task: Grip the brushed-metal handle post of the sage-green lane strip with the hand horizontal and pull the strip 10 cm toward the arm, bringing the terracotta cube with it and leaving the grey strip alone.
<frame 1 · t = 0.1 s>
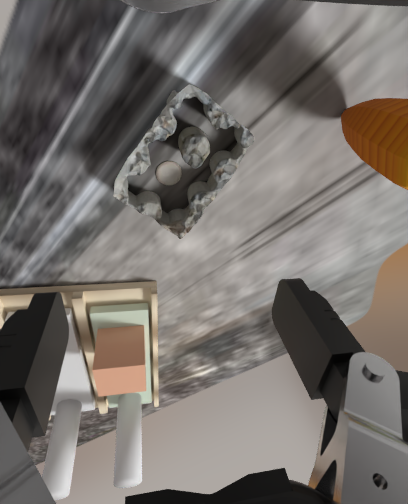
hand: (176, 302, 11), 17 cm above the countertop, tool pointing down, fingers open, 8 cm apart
carrot: (343, 113, 26), on the countertop
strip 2: (124, 401, 35), point 7 cm above the countertop, slide at 0.0 cm, touching cube
strip 1: (49, 410, 33), point 7 cm above the countertop, slide at 0.0 cm
cube: (122, 341, 35), point 2 cm above the countertop, touching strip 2
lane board: (94, 353, 39), on the countertop
egg carton: (177, 154, 26), on the countertop
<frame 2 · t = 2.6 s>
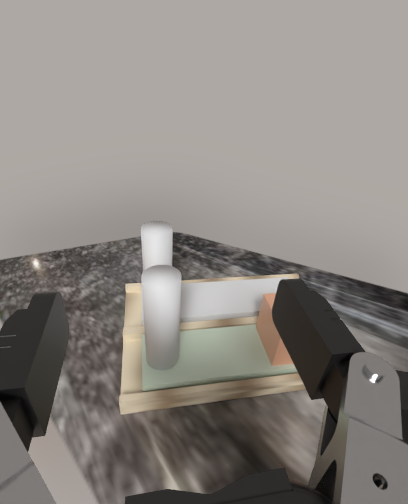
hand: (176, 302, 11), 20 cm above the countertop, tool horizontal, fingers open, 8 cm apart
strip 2: (246, 317, 29), point 7 cm above the countertop, slide at 0.0 cm, touching cube
strip 1: (226, 267, 35), point 7 cm above the countertop, slide at 0.0 cm
cube: (285, 343, 32), point 2 cm above the countertop, touching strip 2
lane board: (228, 333, 36), on the countertop
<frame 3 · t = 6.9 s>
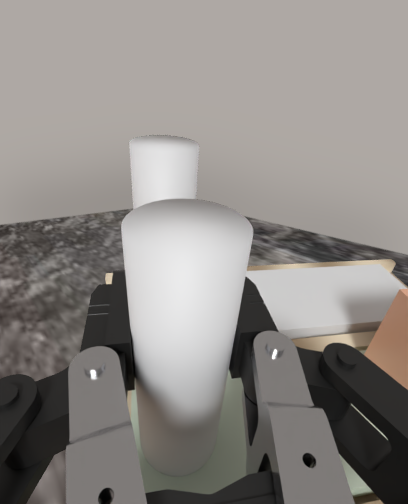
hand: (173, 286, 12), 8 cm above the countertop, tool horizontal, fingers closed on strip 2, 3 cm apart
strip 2: (384, 343, 12), point 7 cm above the countertop, slide at 0.0 cm, touching cube, gripper
strip 1: (296, 239, 18), point 7 cm above the countertop, slide at 0.0 cm
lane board: (298, 366, 19), on the countertop
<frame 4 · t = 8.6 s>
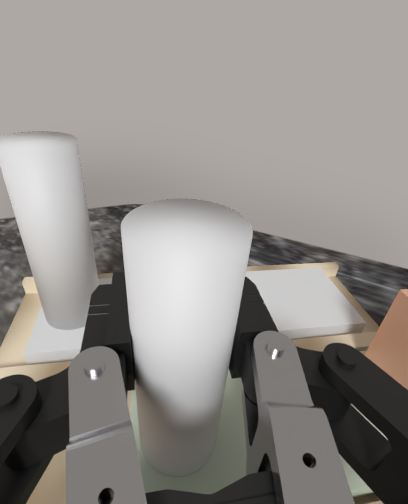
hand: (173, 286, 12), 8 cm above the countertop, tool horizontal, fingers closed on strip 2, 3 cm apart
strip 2: (384, 344, 12), point 7 cm above the countertop, slide at 5.5 cm, touching cube, gripper
strip 1: (209, 242, 17), point 7 cm above the countertop, slide at 0.0 cm
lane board: (212, 376, 18), on the countertop
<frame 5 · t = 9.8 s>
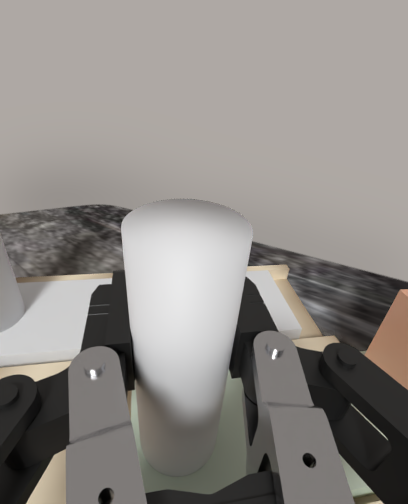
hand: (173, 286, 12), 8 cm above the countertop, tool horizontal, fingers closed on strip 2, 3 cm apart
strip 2: (384, 344, 12), point 7 cm above the countertop, slide at 9.9 cm, touching cube, gripper
strip 1: (130, 245, 17), point 7 cm above the countertop, slide at 0.0 cm
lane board: (136, 385, 17), on the countertop
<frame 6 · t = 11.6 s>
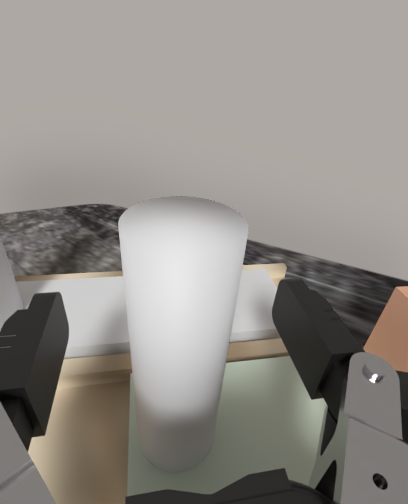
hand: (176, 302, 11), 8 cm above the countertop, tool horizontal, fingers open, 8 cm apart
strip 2: (379, 340, 12), point 7 cm above the countertop, slide at 10.0 cm, touching cube
strip 1: (128, 243, 17), point 7 cm above the countertop, slide at 0.0 cm
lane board: (134, 383, 17), on the countertop
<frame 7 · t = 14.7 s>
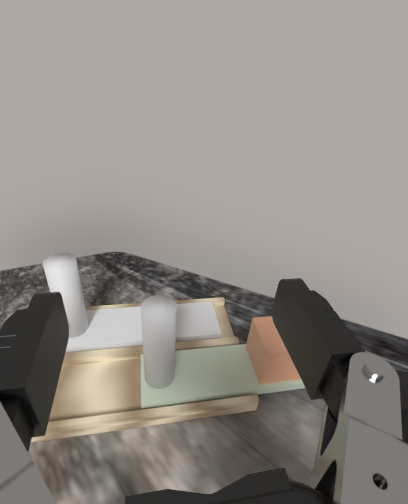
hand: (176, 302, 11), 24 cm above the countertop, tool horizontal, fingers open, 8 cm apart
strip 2: (236, 340, 32), point 7 cm above the countertop, slide at 10.0 cm, touching cube
strip 1: (139, 295, 37), point 7 cm above the countertop, slide at 0.0 cm
cube: (272, 362, 35), point 2 cm above the countertop, touching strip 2
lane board: (141, 359, 37), on the countertop
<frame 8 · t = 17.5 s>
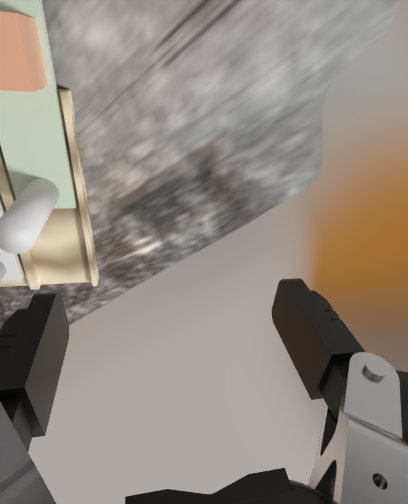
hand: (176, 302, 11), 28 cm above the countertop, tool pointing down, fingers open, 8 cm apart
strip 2: (9, 122, 26), point 7 cm above the countertop, slide at 10.0 cm, touching cube
cube: (11, 51, 27), point 2 cm above the countertop, touching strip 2
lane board: (15, 200, 36), on the countertop
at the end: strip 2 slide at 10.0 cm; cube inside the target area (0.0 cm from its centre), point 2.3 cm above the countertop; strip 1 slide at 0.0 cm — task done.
